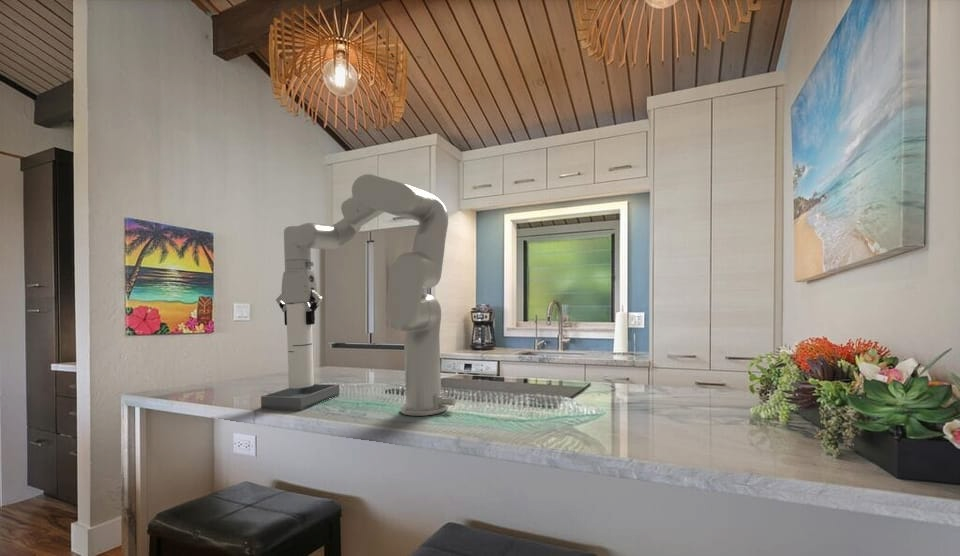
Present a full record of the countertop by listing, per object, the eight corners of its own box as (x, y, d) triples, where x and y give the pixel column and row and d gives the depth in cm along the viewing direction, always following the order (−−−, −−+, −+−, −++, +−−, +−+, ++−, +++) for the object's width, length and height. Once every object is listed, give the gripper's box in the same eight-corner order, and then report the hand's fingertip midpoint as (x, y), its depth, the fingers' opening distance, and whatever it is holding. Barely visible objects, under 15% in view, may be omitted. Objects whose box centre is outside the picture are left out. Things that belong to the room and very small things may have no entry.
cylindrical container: (308, 387, 136) (305, 303, 136) (284, 388, 136) (282, 304, 137) (317, 383, 143) (315, 303, 144) (294, 383, 143) (292, 303, 144)
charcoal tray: (339, 395, 146) (339, 384, 146) (301, 410, 129) (301, 398, 129) (302, 394, 150) (302, 383, 150) (261, 408, 133) (260, 396, 133)
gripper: (329, 265, 141) (331, 323, 141) (283, 268, 147) (285, 324, 146) (314, 264, 134) (315, 325, 134) (265, 267, 139) (267, 326, 139)
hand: (299, 324), depth 140 cm, fingers closed on cylindrical container, 7 cm apart
